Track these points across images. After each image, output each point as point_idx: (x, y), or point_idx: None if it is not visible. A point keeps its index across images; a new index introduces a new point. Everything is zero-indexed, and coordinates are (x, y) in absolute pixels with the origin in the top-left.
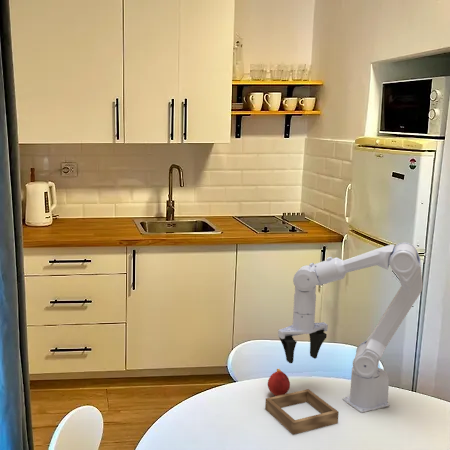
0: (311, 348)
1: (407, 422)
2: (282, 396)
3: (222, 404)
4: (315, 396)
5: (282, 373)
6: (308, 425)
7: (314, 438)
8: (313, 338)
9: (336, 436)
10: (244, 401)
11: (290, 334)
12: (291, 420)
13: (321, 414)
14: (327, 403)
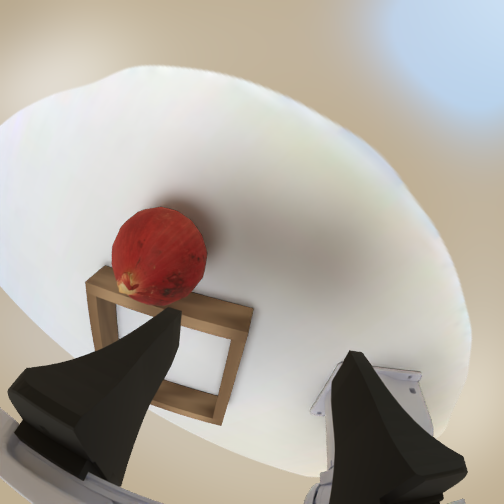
0: (357, 394)
1: None
2: (134, 307)
3: (35, 174)
4: (229, 369)
5: (140, 298)
6: None
7: None
8: (361, 471)
9: None
10: (79, 192)
11: (80, 487)
12: None
13: (175, 410)
14: (228, 401)
